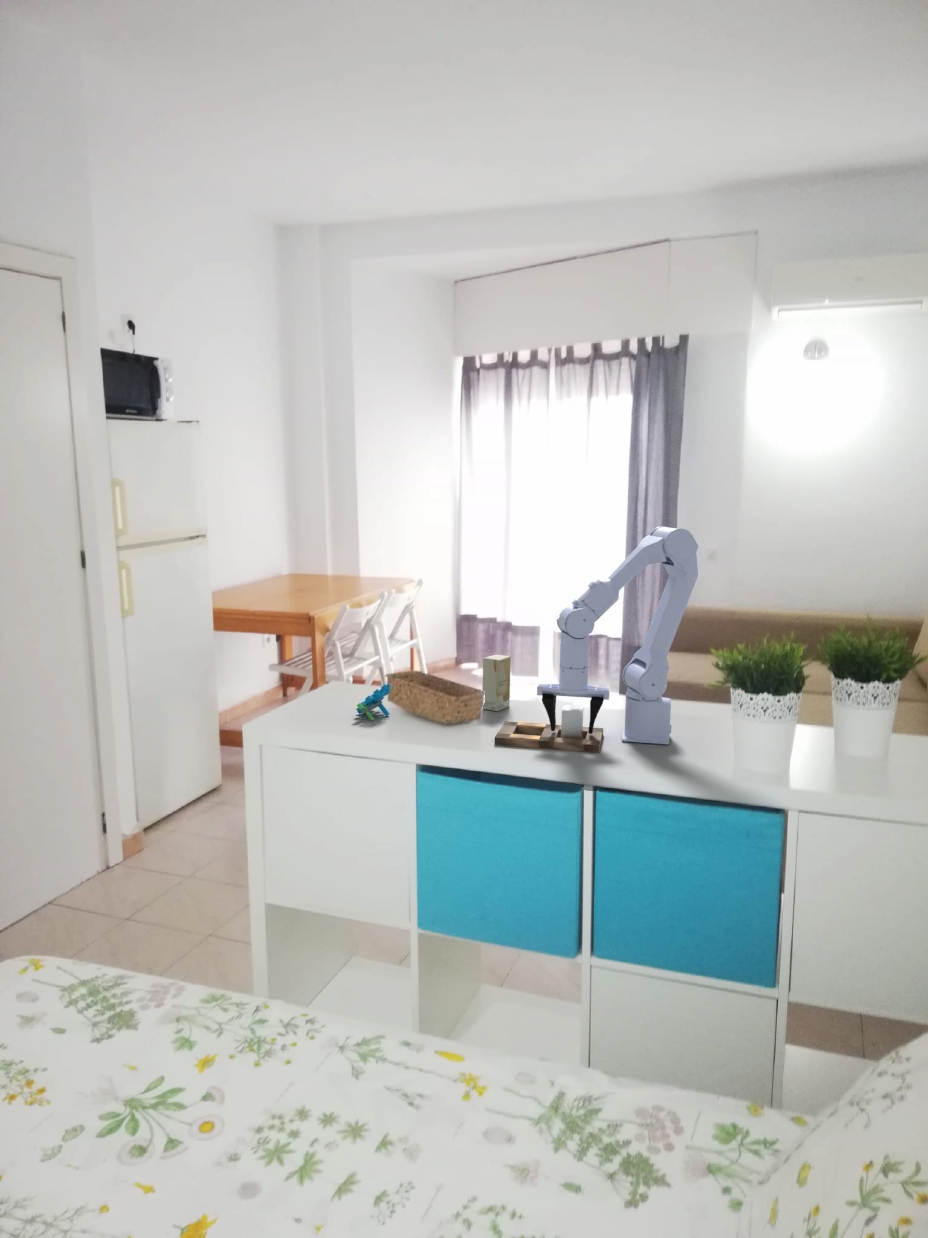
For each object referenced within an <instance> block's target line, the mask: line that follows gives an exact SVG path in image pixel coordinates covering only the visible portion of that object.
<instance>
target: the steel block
mask: <svg viewBox="0 0 928 1238" xmlns="http://www.w3.org/2000/svg"><path fill="white" fill-rule="evenodd" d="M560 725H561V736H560V738H569V739H583V738H582V735H583V727H584V706H578V705H563V707H562V709H561V724H560Z"/></svg>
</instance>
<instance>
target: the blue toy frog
mask: <svg viewBox="0 0 928 1238" xmlns="http://www.w3.org/2000/svg"><path fill="white" fill-rule="evenodd" d="M390 683H391V682H390ZM390 683H387V684H384V685H382V686H381V687H380V689H378V688H376V690H374V691H373V692H372V694H371V695H367V696H366V698H365V700H364V701H362V702H359V703H358V704H356V707H357V708H355V709H356V712H357V713H358V715H361V714H366V715H367V716H368V718H369V719H370V721H374V720H375V718H374V717H373V715H372V714H371V713H370V712H371V711H372V710H374V709H376V708H379V709H380V711H381V712H382V713H383V714H384V716H385V717H388V716H389V715H390V712H389V711H388V710H387V708H386V707H385V706H384V704H383V700H384V699H385V697H386V696H388V695H389V694H390V693H389V691H390V692H391V690H390V687H391V686H390Z"/></svg>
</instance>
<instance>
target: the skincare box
mask: <svg viewBox="0 0 928 1238" xmlns="http://www.w3.org/2000/svg"><path fill="white" fill-rule="evenodd" d="M511 659H512V658H511V656H510V655H503V654H493V655H488V656H487V657H483V658H482V686H481V687H482V688H481V689H482V690H483V691H485V703H484V705H483V709H482V710H488V711H495V712H499V711H501V710H503V709H507V708H508V707H510V703H511V701H510V700H509V699H511V696H510V695H511V694H510V693H511V692H510V691H511Z"/></svg>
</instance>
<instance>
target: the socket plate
mask: <svg viewBox="0 0 928 1238" xmlns="http://www.w3.org/2000/svg"><path fill="white" fill-rule="evenodd" d="M537 734H538V735H537ZM603 737H604V728H603V727H593V733H592V734H589V726H583V735H582V739H569V738H561V724H556V728H555V731H551V725H550V723H549V724H547V723H543V722H527V721H525V722H524V721H504V722H503V724H502V726H500V728H499V730H498V732H497V733H496V734H495V736H494V745H495V746H508V747H521V748H533V749H534V748H536V749H546V750H559V749H561V751H573V752H574V751H575V752H585V753H586V752H587V753H598V752H599V753H600V750H601V747H600V746H601V745H602V742H603Z"/></svg>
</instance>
